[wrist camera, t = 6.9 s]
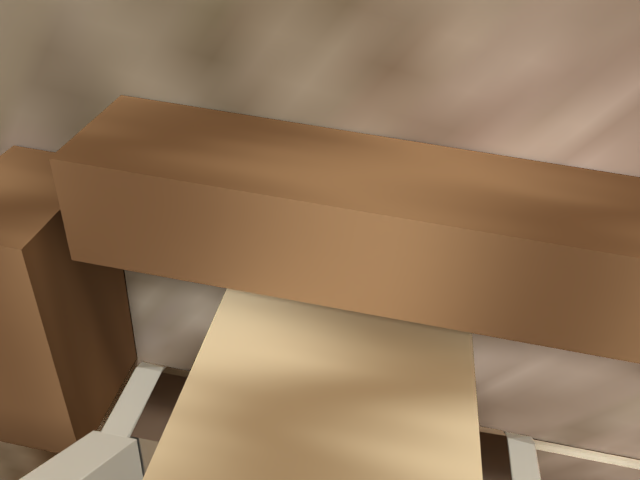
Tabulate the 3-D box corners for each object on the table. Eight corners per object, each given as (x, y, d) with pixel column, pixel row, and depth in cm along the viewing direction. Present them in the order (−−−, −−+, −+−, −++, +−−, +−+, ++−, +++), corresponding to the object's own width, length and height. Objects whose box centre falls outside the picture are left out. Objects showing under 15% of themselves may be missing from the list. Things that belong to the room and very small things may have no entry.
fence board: (1109, 251, 9) (1338, 399, 7) (814, 500, 14) (889, 637, 12) (-5, 75, 11) (-129, 147, 8) (68, 354, 16) (2, 451, 13)
